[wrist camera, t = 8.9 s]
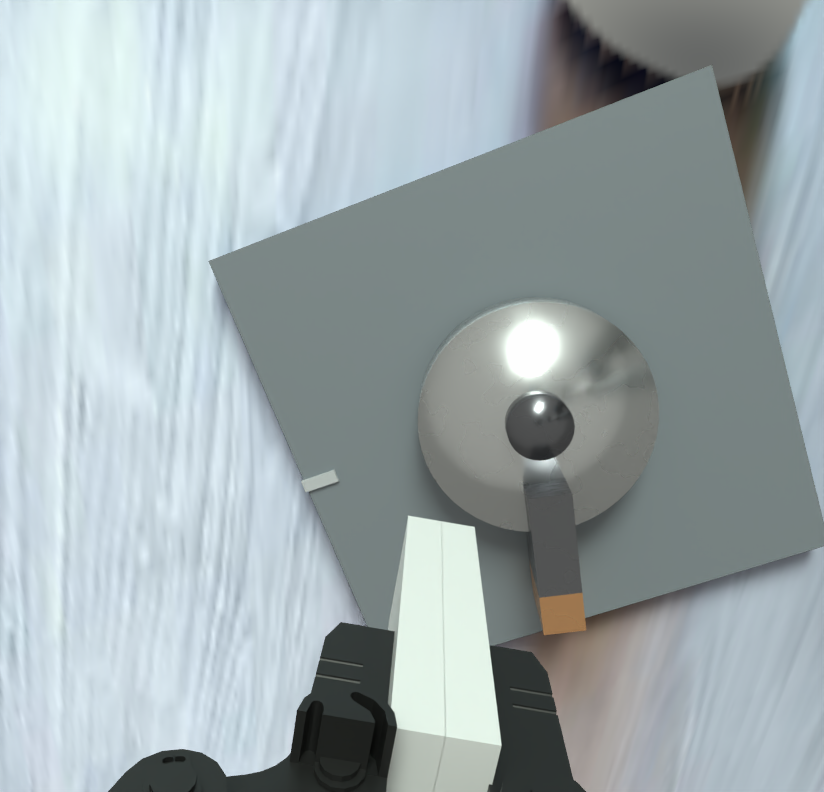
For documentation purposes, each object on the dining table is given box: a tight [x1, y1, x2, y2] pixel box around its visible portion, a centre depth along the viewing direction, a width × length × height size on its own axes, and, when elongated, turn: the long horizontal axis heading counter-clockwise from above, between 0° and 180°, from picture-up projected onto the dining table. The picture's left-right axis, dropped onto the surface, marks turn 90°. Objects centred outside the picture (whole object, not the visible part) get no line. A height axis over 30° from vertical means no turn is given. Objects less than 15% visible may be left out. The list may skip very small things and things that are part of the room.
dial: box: [418, 297, 659, 635], centre depth 33 cm, size 16×11×4 cm
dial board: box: [209, 65, 824, 646], centre depth 35 cm, size 24×24×2 cm
